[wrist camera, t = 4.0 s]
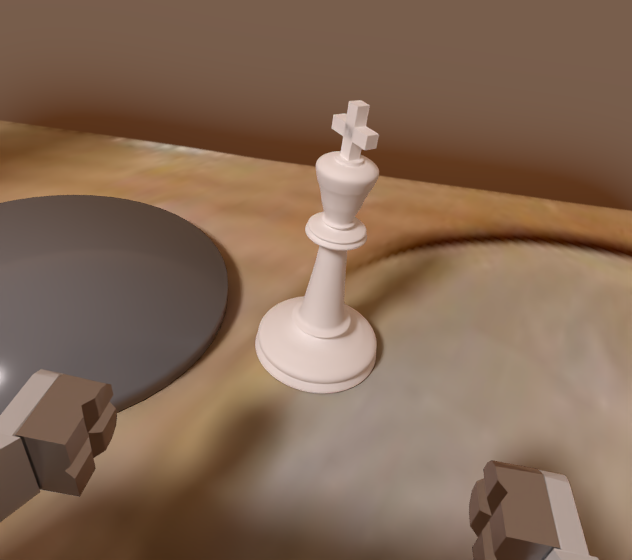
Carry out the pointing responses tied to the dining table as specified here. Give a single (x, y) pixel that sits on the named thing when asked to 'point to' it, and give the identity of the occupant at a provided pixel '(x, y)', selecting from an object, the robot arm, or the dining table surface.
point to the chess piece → (328, 278)
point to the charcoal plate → (104, 294)
